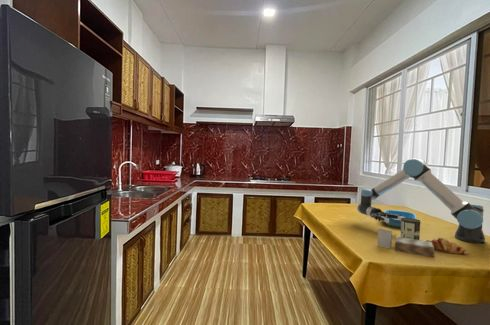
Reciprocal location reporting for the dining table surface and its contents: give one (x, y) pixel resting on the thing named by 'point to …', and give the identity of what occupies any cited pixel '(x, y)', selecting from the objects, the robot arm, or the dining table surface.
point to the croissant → (448, 246)
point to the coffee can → (410, 228)
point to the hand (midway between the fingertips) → (397, 220)
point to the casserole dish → (395, 221)
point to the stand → (414, 246)
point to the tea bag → (384, 238)
